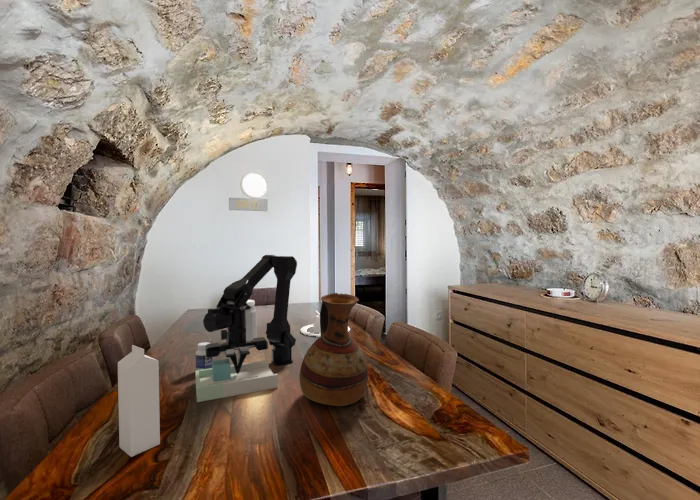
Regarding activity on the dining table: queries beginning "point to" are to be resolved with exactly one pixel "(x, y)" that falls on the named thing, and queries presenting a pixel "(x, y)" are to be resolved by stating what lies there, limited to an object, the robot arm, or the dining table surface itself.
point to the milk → (138, 402)
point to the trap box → (235, 381)
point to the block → (221, 370)
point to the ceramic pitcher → (334, 357)
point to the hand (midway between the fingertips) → (237, 373)
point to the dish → (316, 327)
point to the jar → (251, 321)
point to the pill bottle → (202, 357)
